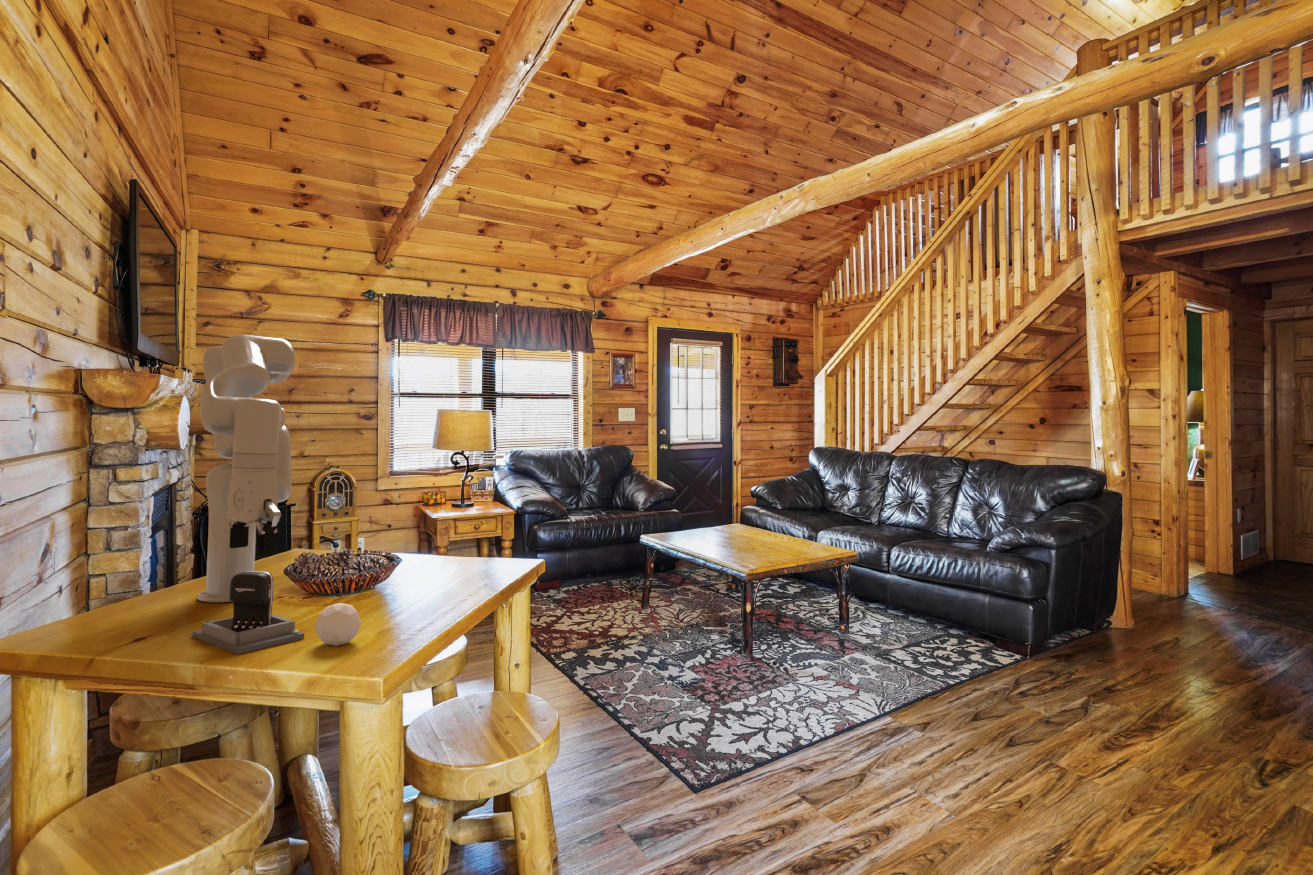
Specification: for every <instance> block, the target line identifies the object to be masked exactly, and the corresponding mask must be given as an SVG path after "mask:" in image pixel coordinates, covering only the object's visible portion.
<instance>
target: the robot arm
mask: <svg viewBox="0 0 1313 875" xmlns="http://www.w3.org/2000/svg"><path fill="white" fill-rule="evenodd" d="M295 366H296V353H295V349H294V347H293V345H292V344H291V343H290V342H289V341H288V340H287V339H283V338H279V337H270V336H259V335H253V334H252V335H251V334H236V335H232V336H230V337H228V338H227V339H226V340H224V341H223V343H222V344H221V345H215V346H211V347H209V348H207V349H205V351H204V354H203V357H202V369H203V376H204V380H205V384H204V385H203V387H202V390H201V392H200V397H199V398H200V399H199V402H200V403H199V406H200V407H199V409H200V411H199V412H200V421H201V425H202V426H203V428H204V430H206V431H207V432H208V433H212V434H213V444H214V451H215V453H216V455H217V456H218V457H220V458H221V459H225V460H226V459H227V460H232V462H231V463H225V464H219V465H217V466H213V467H212V468H210V469H209V471H208V472H207V474H206V477H205V489H206V490H205V491H206V495H207V496H206V497H207V504H208V505H207V506H208V528H207V529H208V532H207V533H208V536H207V538H208V539H207V554H206V555H207V557H206V558H207V559H206V578H205V579H204V582H205V585H206V586H205V590H203V591H200V592H199V593H198V594H197V600H198V601H199V602H200V601H201V602H205V603H231V602H232V603H233V601H230V600H229V593H230V583H231V579H232V578H233V576H235V575H237V574H239V573H241V572H244V571H255V562H256V556H265V555H273V554H275V551H276V534H277V532H278V527H279V525H280V519H281V516H282V512H281V511H280V509H279V508H278V503H282V502H283V503H284V502H286V500H287V501H288V499H289V497H290V495H291V491H292V453H291V452H292V444H291V443H292V442H291V435H290V431H289V429H288V428H287V426H286V425H285V421H286V416H285V415H286V414H285V412H286V411H285V408H284V407H282V405H281V404H280V403H279V402H278V401H277V400H274V399H271V398H260V397H259V398H254V397H256V396H258V395H260V394H262V393H263V392H265V390H266V389H267V388H268V387H269V385H280V384H283V383H284V382H286V381H287V379H288V378H290V376H291V375H292V373H293V371H294V369H295ZM257 530H258V533H257Z"/></svg>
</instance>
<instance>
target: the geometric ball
mask: <svg viewBox="0 0 1313 875" xmlns="http://www.w3.org/2000/svg"><path fill="white" fill-rule="evenodd" d="M358 612H359V611H358V610H356V608H355V607H354V606H353V605H352V604H347V603H342V602H339V603H338V602H337V603H333V604H331V605H329V606H327V607H325V608H324V609H323V610H321V612H319V614H318V617H317V619H316V622H315V624H314V627H315V631H316V634H317V637H318V638H319V639H320V640H321V641H322V643H323V644H325V645H330V646H335V647H339V646H341V645H345V644H347V643H350V642H351V641H352V640H353V639H354V638H355V637H356V636H357V635H358V634H359V633H358V632H359V629H360V627H361V625H362V621H361V617H360V614H359V613H358Z"/></svg>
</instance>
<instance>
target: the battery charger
mask: <svg viewBox="0 0 1313 875" xmlns="http://www.w3.org/2000/svg"><path fill="white" fill-rule="evenodd" d="M229 600H230V601H233V602H232V603H233V606H232V608H233V613H232V614H233V616H232V617H233V622H232V626H231V630H233V631H235V632H241V631H245V630H250V629H255V628H259V627H264V626H269V625H271V614H273V612H272V611H273V600H274V577H273V575H272V573H270V572H267V571H260V570H259V571H255V570H254V571H244V572H241V573H239V574H237V575H235V576H233V578H232V579H231V583H230V593H229Z"/></svg>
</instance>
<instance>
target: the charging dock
mask: <svg viewBox="0 0 1313 875" xmlns="http://www.w3.org/2000/svg"><path fill="white" fill-rule="evenodd" d="M232 622H233V616H230V617H225V618H219V619H214V620H210V621H209V620H208V621H204V622H202V623H201V629H198V630H195V631H194V630H193V631H192V635H191V636H192V638H194V639H198V640H199V641H203V642H205V643H208V644H210V645H213V646H215V647H217V648H219V649H223V650H225V651H228V652H230V653H232V654H235V655H241V654H247V653H250V652H251V653H252V652H254V651H257V650H263V649H267V648H271V647H275V646H278V645H283V644H287V643H291V642H295V641H299V640H305V633H304V632H301V631H300V629H296V621H294V620H292V619H289V618H285V617H283V616H280V615H276V614H273V613H272V614H271V625H269V626H264V627H259V628H255V629H250V630H245V631H241V632H235V631H233V630H231V626H232Z"/></svg>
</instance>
